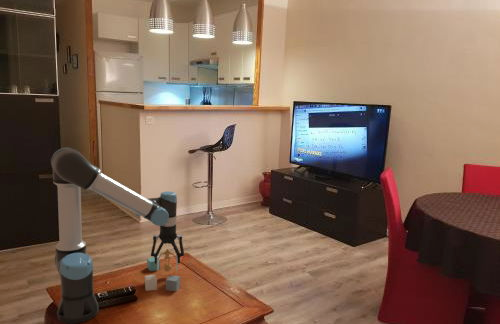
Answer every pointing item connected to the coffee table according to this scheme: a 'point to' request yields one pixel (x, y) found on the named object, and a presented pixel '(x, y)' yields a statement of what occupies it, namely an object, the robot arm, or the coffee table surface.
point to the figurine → (168, 266)
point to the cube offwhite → (150, 282)
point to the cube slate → (172, 283)
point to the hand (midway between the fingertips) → (167, 269)
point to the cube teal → (152, 264)
